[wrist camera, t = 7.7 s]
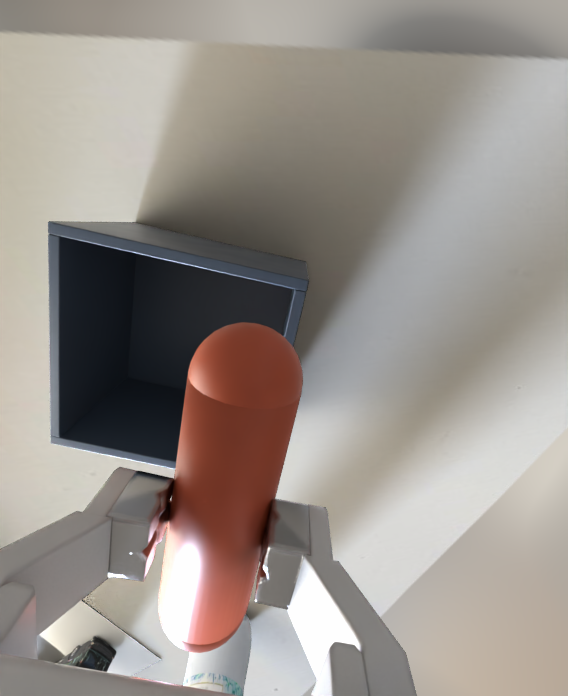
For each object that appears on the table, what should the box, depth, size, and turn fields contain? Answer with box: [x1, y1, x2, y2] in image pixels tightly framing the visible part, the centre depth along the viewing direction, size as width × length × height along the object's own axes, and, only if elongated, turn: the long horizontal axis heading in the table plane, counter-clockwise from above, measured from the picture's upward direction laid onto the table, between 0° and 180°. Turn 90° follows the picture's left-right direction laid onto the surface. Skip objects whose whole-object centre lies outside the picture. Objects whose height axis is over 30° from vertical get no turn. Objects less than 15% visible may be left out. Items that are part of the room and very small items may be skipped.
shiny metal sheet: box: [37, 600, 161, 676], centre depth 42 cm, size 14×25×4 cm, turn 130°
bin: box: [48, 221, 309, 469], centre depth 24 cm, size 13×13×10 cm
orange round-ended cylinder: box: [158, 322, 303, 653], centre depth 10 cm, size 10×3×3 cm, turn 168°
